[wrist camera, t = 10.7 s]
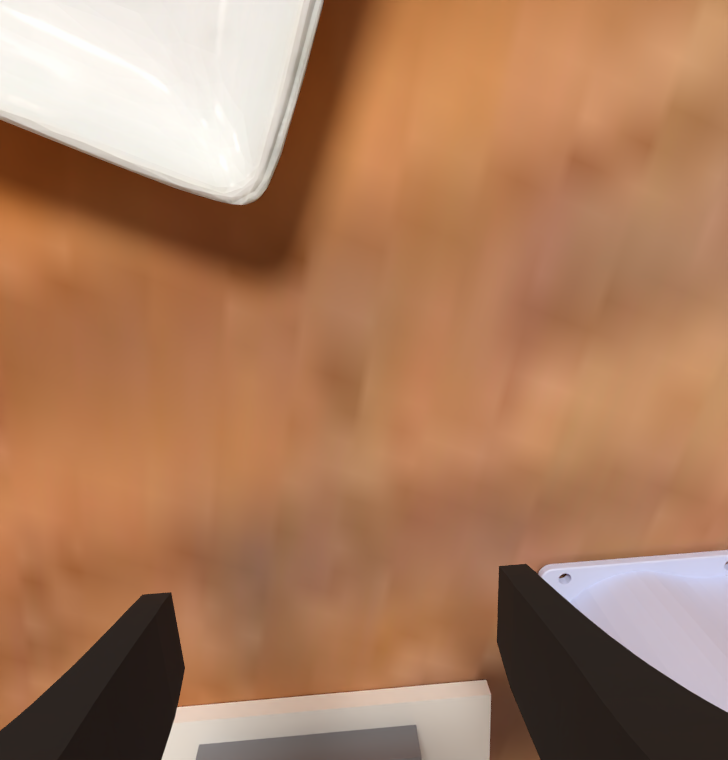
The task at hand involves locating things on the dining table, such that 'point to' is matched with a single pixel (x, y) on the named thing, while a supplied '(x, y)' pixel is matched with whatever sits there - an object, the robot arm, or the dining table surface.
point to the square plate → (161, 84)
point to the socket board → (341, 726)
